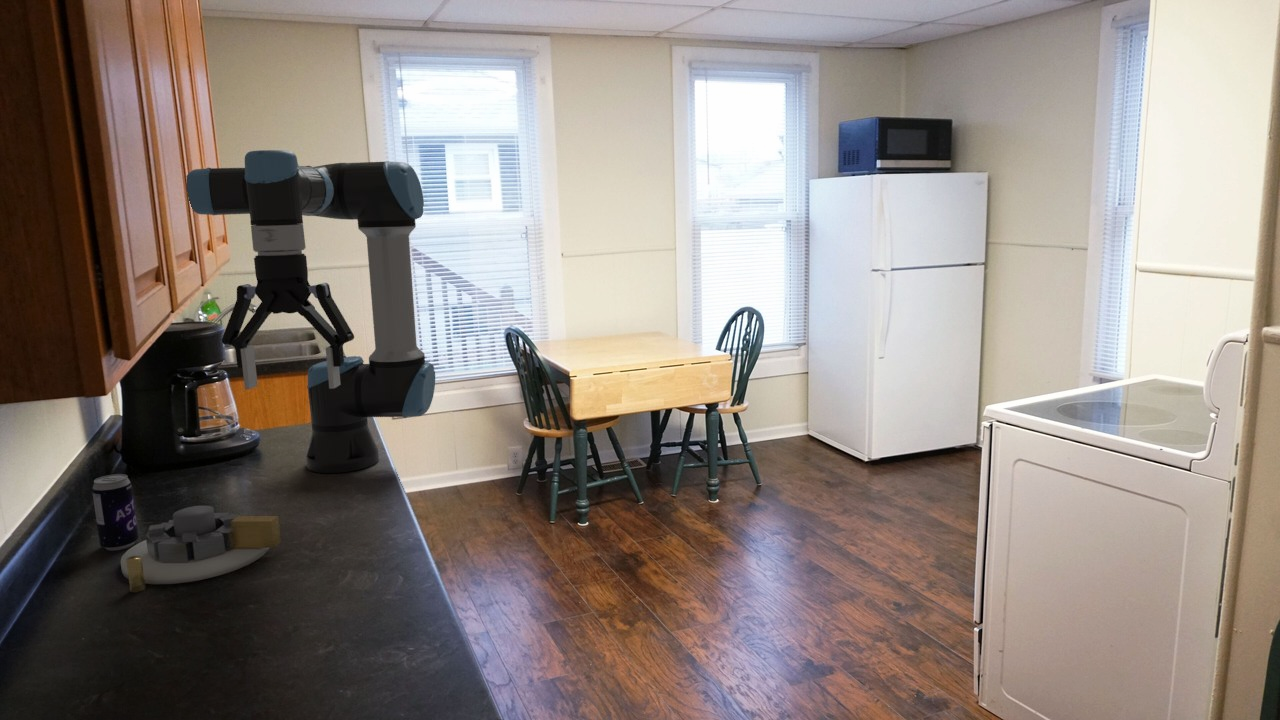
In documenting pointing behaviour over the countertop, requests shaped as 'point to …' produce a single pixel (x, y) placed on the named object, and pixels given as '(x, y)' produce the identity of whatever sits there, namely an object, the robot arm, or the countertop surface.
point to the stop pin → (135, 573)
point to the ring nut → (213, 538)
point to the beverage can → (115, 512)
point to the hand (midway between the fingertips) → (293, 387)
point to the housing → (192, 570)
